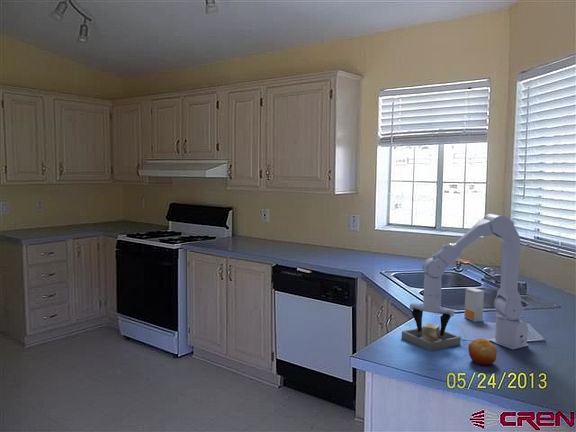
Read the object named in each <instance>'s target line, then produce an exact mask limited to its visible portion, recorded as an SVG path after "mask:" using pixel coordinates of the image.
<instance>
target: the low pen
mask: <svg viewBox="0 0 576 432" xmlns="http://www.w3.org/2000/svg"><path fill="white" fill-rule="evenodd" d="M422 329H423V326H422ZM440 332H441V328H439V338H441V339H440V341H435V342H429V341H426V340H424V339H422V337H419V336H422V330H421V331H420V332H418V329H417V327H416V328H412V329H406V330H401V339H402V340H404V341H407V342H409V343H411V344H413V345H416V346H418V347H421V348H422V349H425V350H427V351H429V352H432V351H438V350H441V349H446V348H450V347H454V346H458V345H461V339H462V337H461V336H460V335H459V336H458V335H457V334H453V333H450V332H449V331H446V330H445V332H444V335H443V336H440Z"/></svg>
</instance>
